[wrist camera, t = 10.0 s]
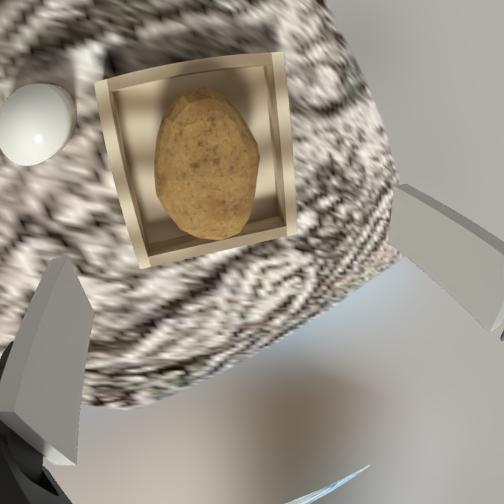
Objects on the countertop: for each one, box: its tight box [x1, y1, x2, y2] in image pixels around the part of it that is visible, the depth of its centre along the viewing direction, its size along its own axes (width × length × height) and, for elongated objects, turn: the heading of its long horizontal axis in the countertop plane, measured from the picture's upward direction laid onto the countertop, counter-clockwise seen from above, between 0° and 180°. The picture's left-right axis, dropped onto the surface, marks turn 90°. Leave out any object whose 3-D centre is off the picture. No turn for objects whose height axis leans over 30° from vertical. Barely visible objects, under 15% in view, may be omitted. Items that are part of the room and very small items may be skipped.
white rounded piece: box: [0, 84, 77, 166], centre depth 23 cm, size 8×8×4 cm
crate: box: [94, 52, 298, 269], centre depth 30 cm, size 19×17×4 cm
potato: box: [154, 85, 260, 240], centre depth 27 cm, size 10×14×8 cm
